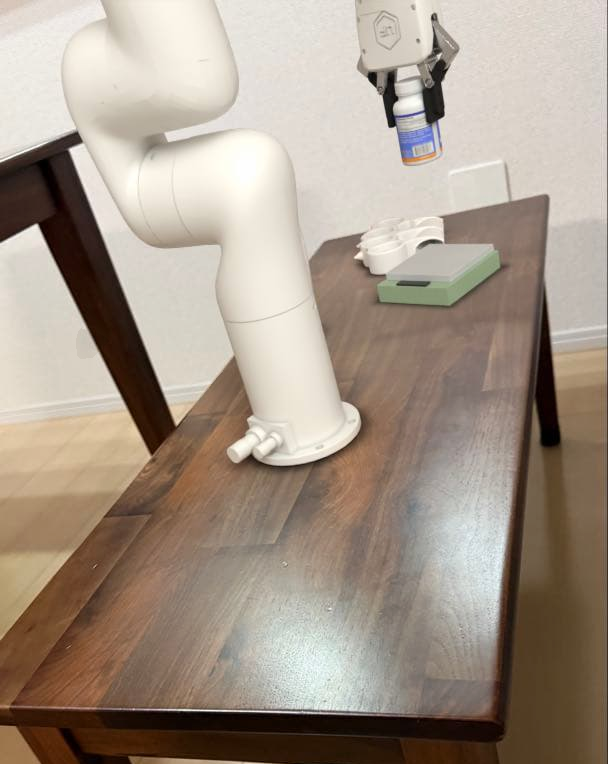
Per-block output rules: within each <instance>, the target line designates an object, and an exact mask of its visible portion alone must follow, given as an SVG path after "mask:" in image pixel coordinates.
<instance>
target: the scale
mask: <svg viewBox="0 0 608 764" xmlns="http://www.w3.org/2000/svg"><path fill="white" fill-rule="evenodd" d="M499 253H500V252H499V250H498V249H495V247H494V243H445V244H429V245H427V246H426V247H424V248H423V249H421V250H420V251H418V252H417V253H415V254H414V255H412V256H411V257H409V258H408V259H406V260H405V261H404V262H402V263H401V264H399V265H398V266H396V267H395V268H393V269H392V270H390V271H389V272H387V273H386V274H385V279H384V280H382V281H381V282H380V283H378V284H376V289H377V293H378V294H377V295H378V299H379V303H388V304H389V303H391V304H408V305H409V304H411V305H427V306H444V307H445V306H447V307H450V306H452V305H453V304H454V303H456V302H457V301H459V300H460V299H461V298H462V297H464V296H465V295H466V294H467V293H468V292H470V291H472V290H473V289H474V288H475V287H477V286H478V285H480V284H481V283H482V282H483V281H485V280H486V279H487V278H489V277H491V275H492V274H494V273H496V271H498V270H499V269H500V268H501V262H500V261H501V260H500V255H499Z"/></svg>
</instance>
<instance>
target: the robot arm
mask: <svg viewBox="0 0 608 764" xmlns="http://www.w3.org/2000/svg"><path fill="white" fill-rule="evenodd" d="M99 1H100V3H101V6H102V8H103V11H104V13H105V16H106V17H105V18H100V19H98V20H95V21H93V22H90V23H88V24H86V25H84V26H83V27H81V28H79V29H78V30H77V31H76V32H74V33H73V34H72V36H70V38H69V40H67V41H68V42H67V43H66V45H65V47H64V51H63V53H62V59H61V65H60V67H61V68H60V75H61V84H62V91H63V97H64V101H65V104H66V107H67V110H68V112H69V113H68V114H69V116H70V117H71V120H72V122H73V124H74V126H75V128H76V130H77V132H78V135H79V136H80V139H81V141H82V142H83V144H84V146H85V148H86V150H87V152H88V154H89V156H90V158H91V160H92V162H93V164H94V166H95V167H96V169H97V172H98V174H99V175H100V177H101V179H102V182H103V183H104V185H105V187H106V189H107V191H108V193H109V195H110V197H111V199H112V200H113V202H114V204H115V206H116V208H117V210H118V212H119V213H120V216H121V217H122V219H123V220H124V222H125V224H126V225H127V227H128V228H129V229H130V231H131V232H132V233H133V234H134V235H135V237H137V239H139V240H140V241H141V242H142V243H144V244H146V245H148V246H150V247H153V248H156V249H165V250H166V249H168V250H169V249H181V248H182V249H183V248H191V247H199V246H200V247H201V246H219V247H220V258H219V263H218V268H217V272H216V277H215V284H214V290H215V299H216V301H217V306H218V309H219V312H220V316H221V319H222V322H223V325H224V329H225V331H226V333H227V336H228V339H229V342H230V346H231V349H232V351H233V356H234V358H235V361H236V364H237V367H238V371H239V374H240V376H241V381H242V383H243V386H244V389H245V392H246V396H247V398H248V402H249V405H250V408H251V411H252V413H253V414H252V415H250V416H249V417H248V418H246V421H247V425H248V429H247V430H246V431H245V434H244V435H245V436H243V437H242V438H240V439H238V440H237V441H235V442H233V444H231V445H230V446H229V447H227V449H226V454H227V457H228V458H229V460H230V461H232V462H233V463H234V464H240V463H241V462H242V461H244V460H245V459H246V458H248V457H249V456H250V455H252V456H253V458H254V459H256V460H257V461H258V462H261V463H263V464H265V465H270V466H276V467H289V466H297V465H305V464H309V463H311V462H316V461H318V460H321V459H324V458H326V457H329V456H331V455H333V454H335V453H337V452H339V451H340V450H342V449H343V448H345V447H346V446H347V445H348V444H350V443H351V442H352V441H353V440H354V439H355V438H356V436H358V434H359V432H360V430H361V427H362V420H361V416H360V415H361V414H360V412H359V410H358V409H357V408H356V407H355V405H352V403H349V402H347V401H344V400H343V401H342V399H341V394H340V391H339V387H338V383H337V379H336V376H335V372H334V371H335V370H334V368H333V364H332V360H331V356H330V352H329V348H328V344H327V340H326V337H325V332H324V328H323V324H322V321H321V317H320V313H319V309H318V305H317V301H316V296H315V292H314V293H313V291H314V288H313V289H312V285H313V284H312V285H311V281H310V277H309V273H308V269H307V264H306V260H305V256H304V251H303V246H302V240H301V234H300V229H301V226H300V227H299V225H300V220H299V219H300V218H299V208H298V195H297V194H298V191H297V181H296V174H295V169H294V165H293V161H292V158H291V156H290V154H289V152H288V150H287V148H286V147H285V145H284V144H283V143H282V142H281V141H280V140H279V139H278V138H276V137H275V136H274V135H272V134H270V133H268V132H266V131H263V130H260V129H256V128H245V127H244V128H243V127H240V128H230V129H229V128H228V129H224V130H218V131H213V132H208V133H203V134H198V135H193V136H190V137H188V138H182V139H177V140H172V141H169V140H168V138H167V137H166V134H165V133H168V132H169V133H170V132H173V131H178V130H182V129H183V130H184V129H187V128H191V127H195V126H199V125H203V124H207V123H209V122H212V121H215V120H217V119H218V118H220V117H222V116H224V115H225V114H226V113H228V112H229V110H231V109H232V107H233V106H234V105H235V103H236V100H237V98H238V94H239V91H240V77H239V71H238V66H237V62H236V58H235V55H234V51H233V48H232V45H231V42H230V39H229V36H228V33H227V30H226V28H225V25H224V23H223V20H222V16H221V15H220V12H219V9H218V5H217V3H216V1H215V0H99ZM354 7H355V20H356V30H357V38H358V44H359V52H360V56H359V58H358V61H357V64H356V70H357V71H358V72H359V73H360V74H362V76H363V77H365V78H366V79H367V80H368V82H369V83H370V84H371V85H372V86H373V87H374V88H375V90H376V93H377V94H378V96H381V97H382V101H383V108H384V114H385V118H386V122H387V127H388V128H389V129H394V128H396V123H395V118H394V113H393V106H394V104H395V103H396V102H397V101H398V96H396V94H395V86H394V84H395V83H396V82H398V71H399V70H398V69H401V68H409V67H412V66H416V68H417V70H418V72H419V75H421V77H422V79H423V81H424V84H425V86H426V88H425V89H423V90H422V96H423V102H424V108H425V114H426V121H427V122H428V123H434V122H436V121H437V120H438V121H440V120H441V119H443V118H444V117H445V115H446V112H445V110H446V109H445V108H446V107H445V105H446V104H445V99H444V98H445V97H444V92H443V86H442V85H443V82H445V80H446V75H447V73H448V71H449V69H450V68H451V65H452V63H453V61H454V60H455V58H456V57H457V55H458V54H459V52H460V49H461V47H460V45H459V44H458V42H456V40H455V39H454V38H453V37H452V36H451V35H450V34H449V32H448V31H447V30H446V29H445V26H444V25H445V24H444V21H443V14H442V9H441V5H440V0H354ZM440 54H441V55H440ZM439 55H440V56H439ZM438 56H439V58H438Z"/></svg>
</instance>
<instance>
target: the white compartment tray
mask: <svg viewBox="0 0 608 764" xmlns="http://www.w3.org/2000/svg"><path fill="white" fill-rule="evenodd" d="M429 244H446V243H445V223H444V218H441V217H439V216H436V215H423V216H418V217H415V218H414V217H413V218H406V217H404V216H396V217H390V218H385V219H382V220H379V221H376V222H375V223H373V224H371V226H370V229H369V230H368V231H366V232H364V233H363V235H362V236H361V237H360V242H359V243H357V245H356V246H355V248H357V249H359V252H358V253H357V254H355V255H354V256H353V257H352V260H357V261H362V264H363V265H364V266H365V267H366V268H368V269H369V272H370V274H371V275H376V276H382V275H386V273H387V272H389V271H390V270H392V269H393V268H395V267H396V266H398V265H399V264H401V263H402V262H404V261H405V260H406V259H408V258H409V257H411V256H412V255H414V254H415V253H417V252H418V251H420V250H421V249H423V248H424V247H426V246H427V245H429Z"/></svg>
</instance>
